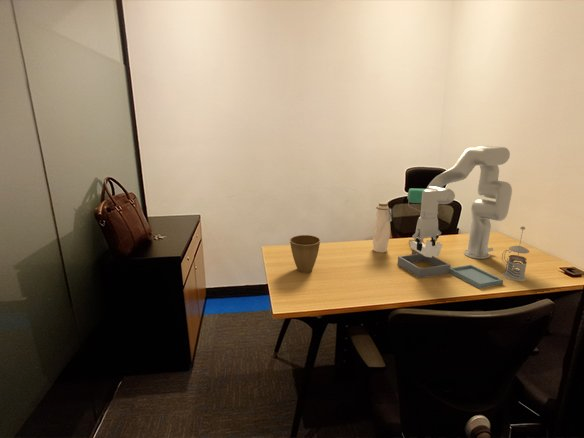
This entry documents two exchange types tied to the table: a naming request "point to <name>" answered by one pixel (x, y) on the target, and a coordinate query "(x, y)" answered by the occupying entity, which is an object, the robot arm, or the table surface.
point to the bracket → (428, 248)
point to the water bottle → (382, 228)
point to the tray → (476, 276)
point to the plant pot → (305, 251)
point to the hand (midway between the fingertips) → (425, 249)
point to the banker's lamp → (414, 197)
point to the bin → (438, 268)
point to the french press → (516, 263)
